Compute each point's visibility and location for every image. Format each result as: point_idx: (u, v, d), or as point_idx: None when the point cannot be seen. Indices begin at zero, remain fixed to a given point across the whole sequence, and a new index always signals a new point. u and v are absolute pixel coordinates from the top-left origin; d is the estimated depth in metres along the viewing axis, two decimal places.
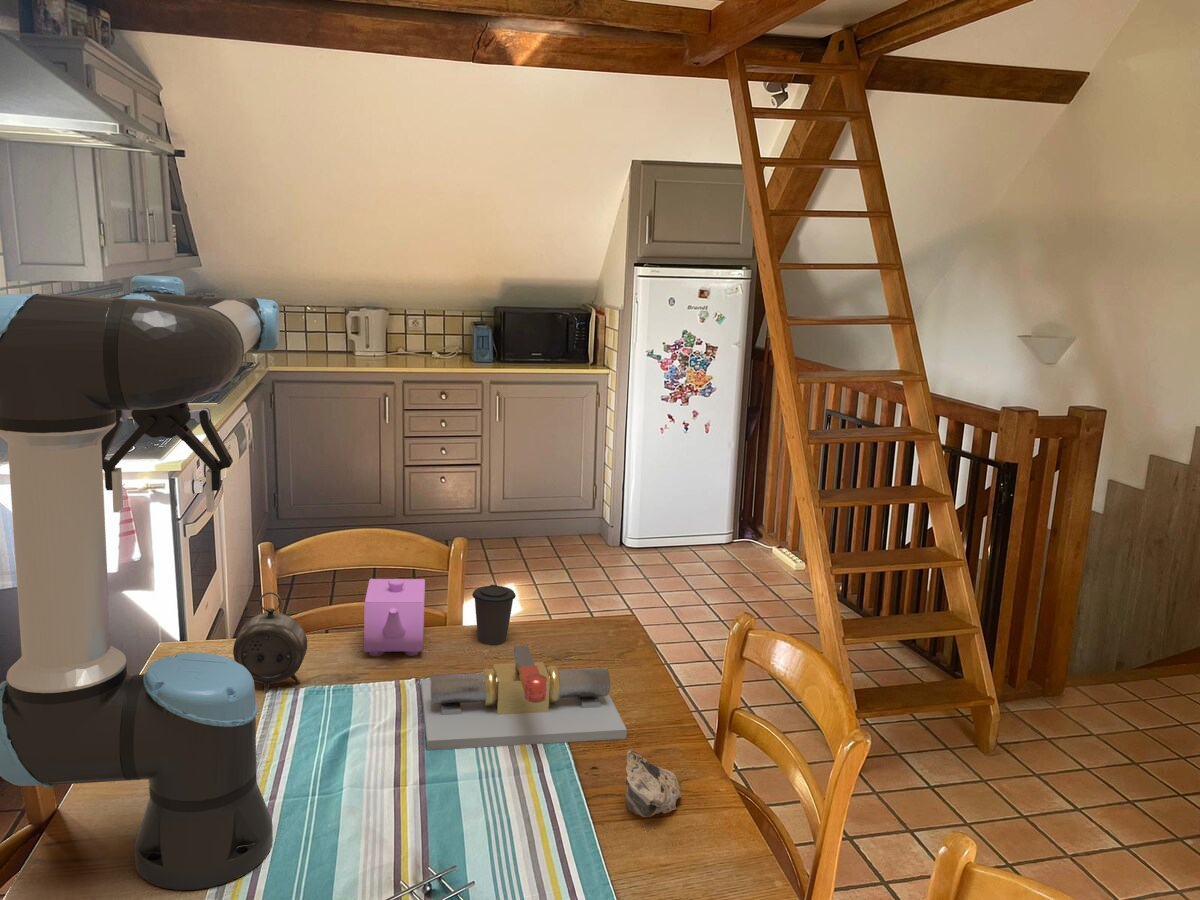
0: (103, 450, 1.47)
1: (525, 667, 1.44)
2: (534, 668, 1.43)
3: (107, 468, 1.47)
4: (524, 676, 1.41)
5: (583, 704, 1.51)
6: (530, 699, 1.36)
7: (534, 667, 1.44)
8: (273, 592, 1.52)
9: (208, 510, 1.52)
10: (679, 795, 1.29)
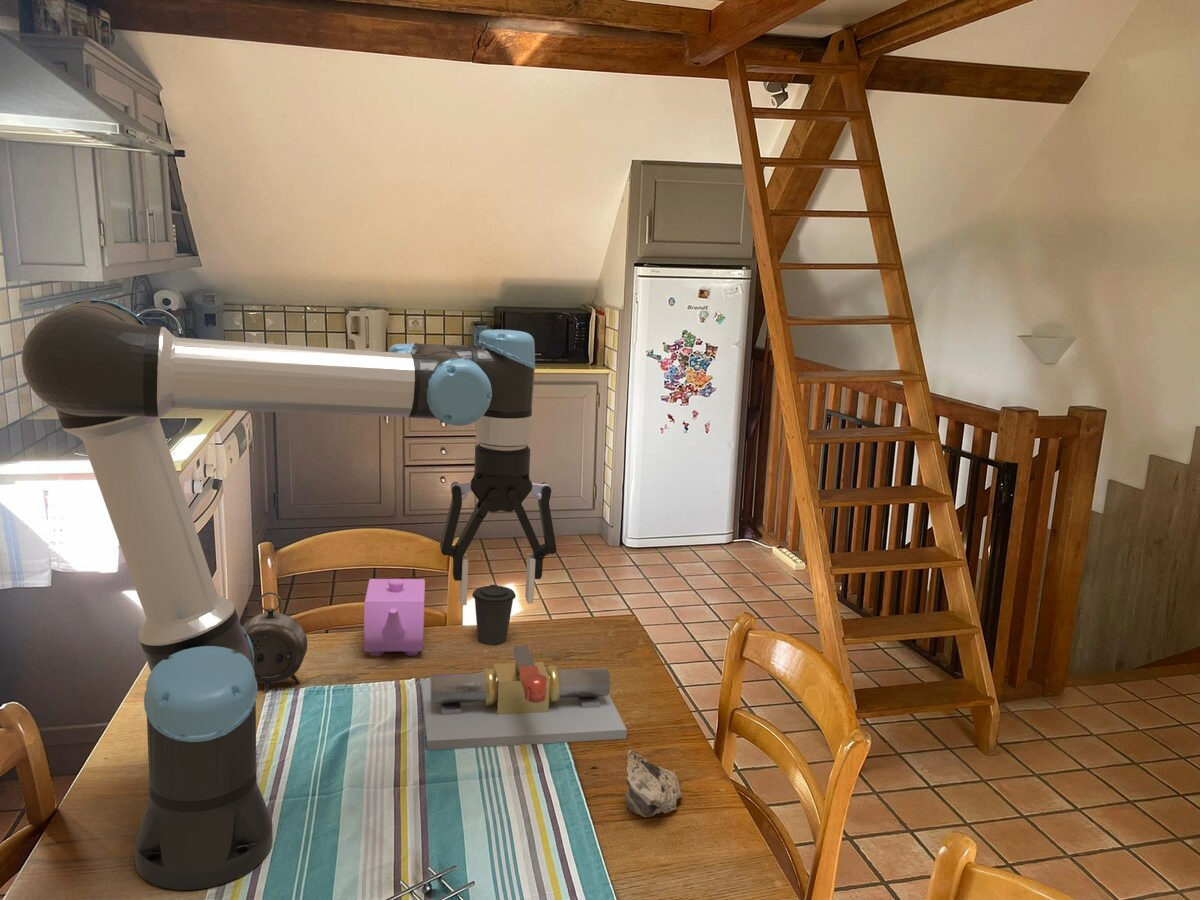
0: (451, 535, 1.30)
1: (525, 667, 1.44)
2: (534, 668, 1.43)
3: (458, 556, 1.31)
4: (524, 676, 1.41)
5: (583, 704, 1.51)
6: (530, 699, 1.36)
7: (534, 667, 1.44)
8: (273, 592, 1.52)
9: (530, 601, 1.35)
10: (679, 795, 1.29)
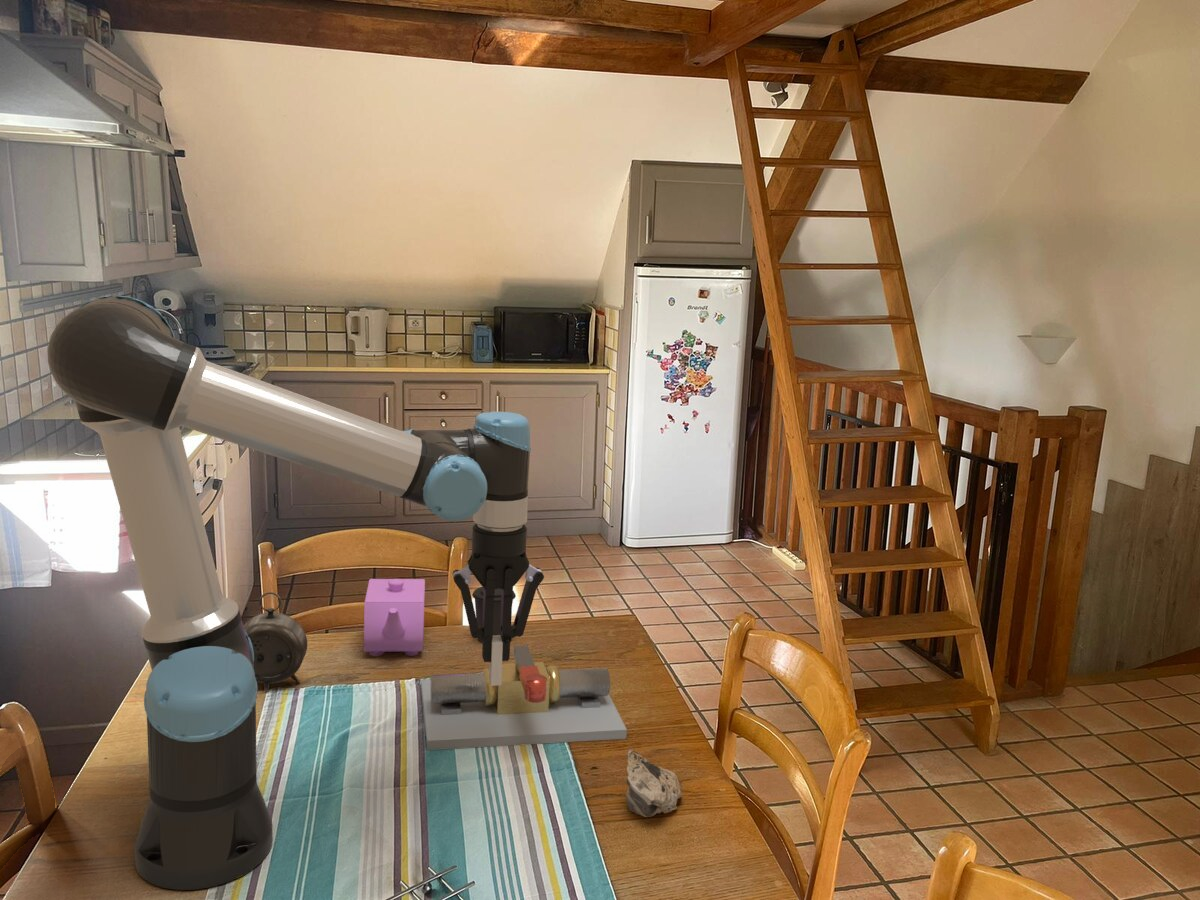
0: (473, 618, 1.33)
1: (525, 667, 1.44)
2: (534, 668, 1.43)
3: (489, 639, 1.35)
4: (524, 676, 1.41)
5: (583, 704, 1.51)
6: (530, 699, 1.36)
7: (534, 667, 1.44)
8: (273, 592, 1.52)
9: (498, 683, 1.36)
10: (680, 795, 1.29)
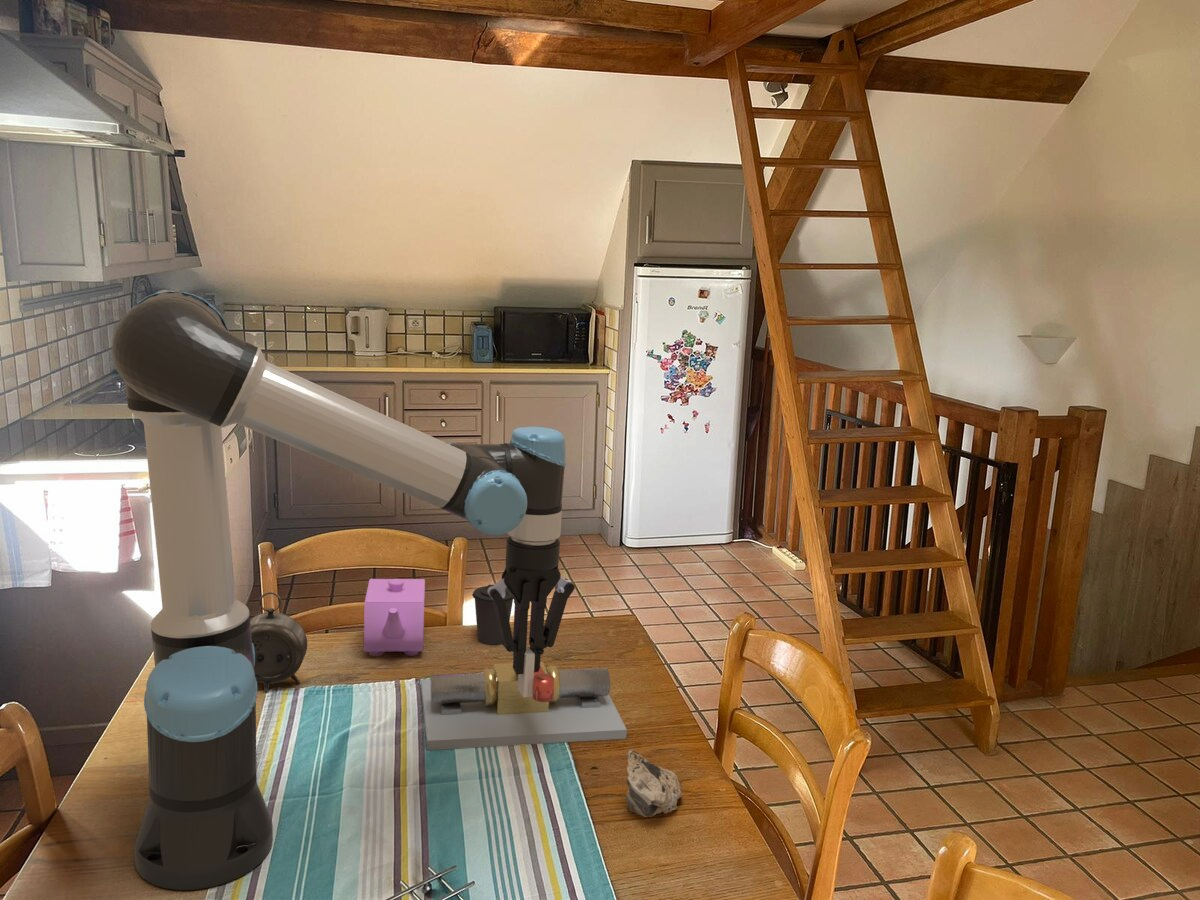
0: (509, 632, 1.35)
1: None
2: None
3: (522, 652, 1.36)
4: None
5: (583, 704, 1.51)
6: (539, 699, 1.37)
7: None
8: (273, 592, 1.52)
9: (529, 694, 1.38)
10: (680, 795, 1.29)
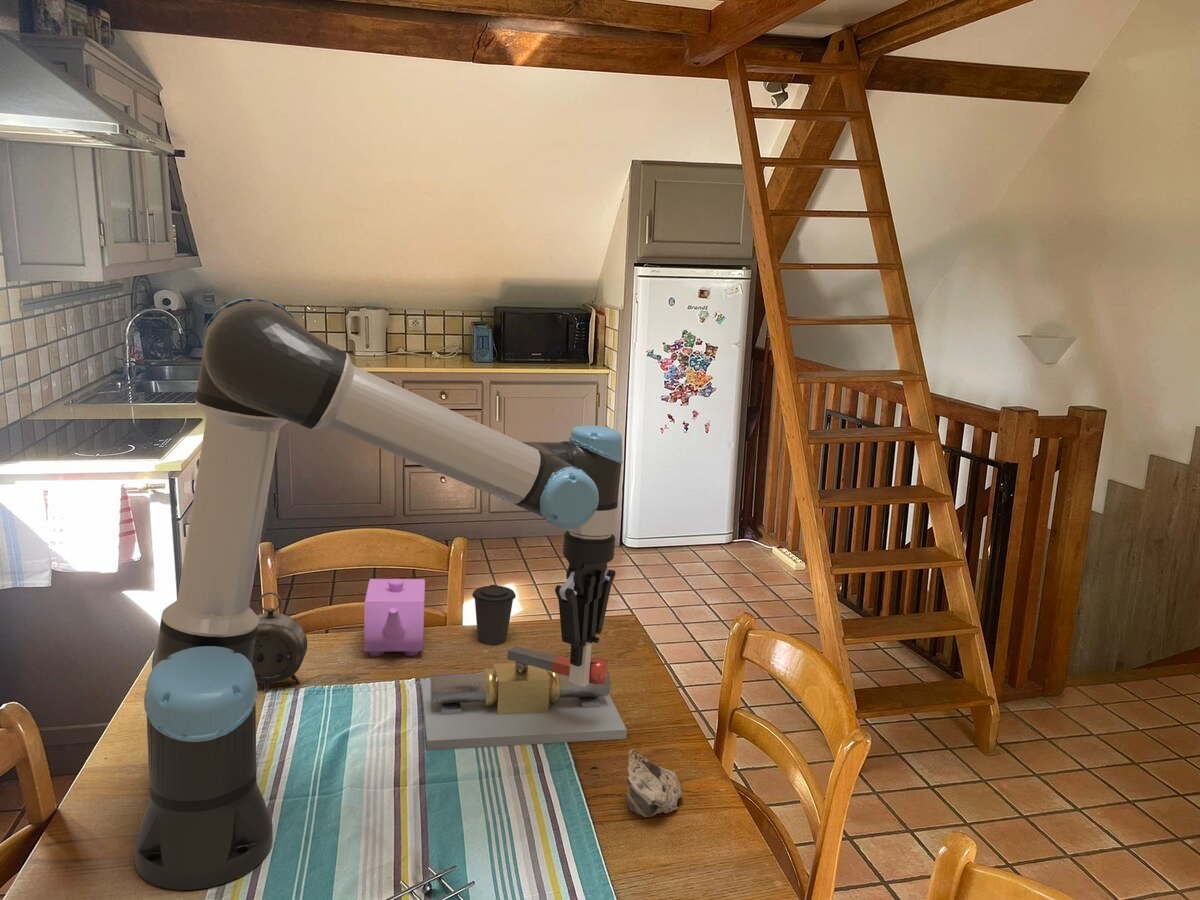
0: (577, 627, 1.38)
1: (557, 660, 1.47)
2: (563, 658, 1.48)
3: (585, 643, 1.41)
4: None
5: (583, 704, 1.51)
6: (601, 681, 1.44)
7: (562, 657, 1.48)
8: (273, 592, 1.52)
9: (587, 683, 1.43)
10: (680, 795, 1.29)
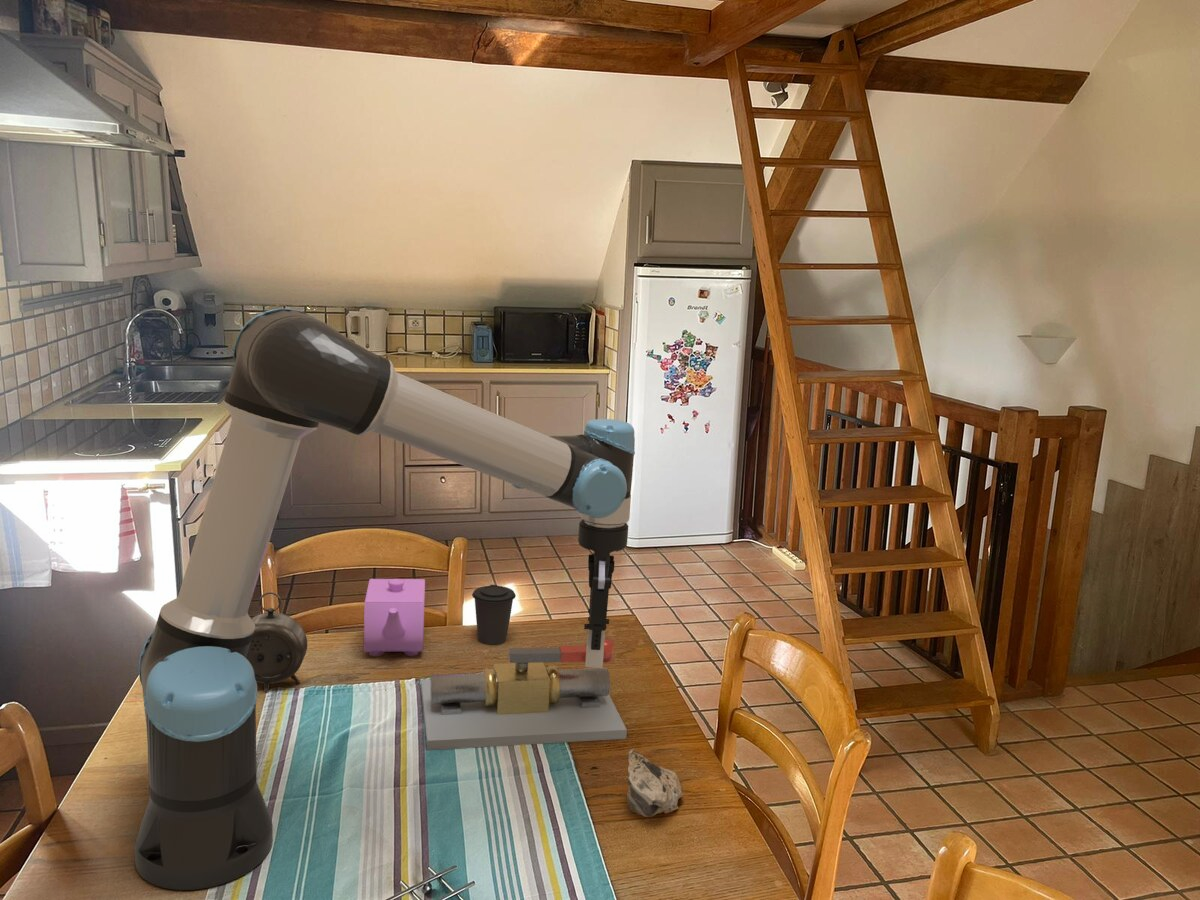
0: None
1: (563, 650, 1.51)
2: (565, 647, 1.52)
3: None
4: (583, 651, 1.51)
5: (583, 704, 1.51)
6: (611, 658, 1.52)
7: (563, 646, 1.52)
8: (273, 592, 1.52)
9: None
10: (681, 795, 1.29)
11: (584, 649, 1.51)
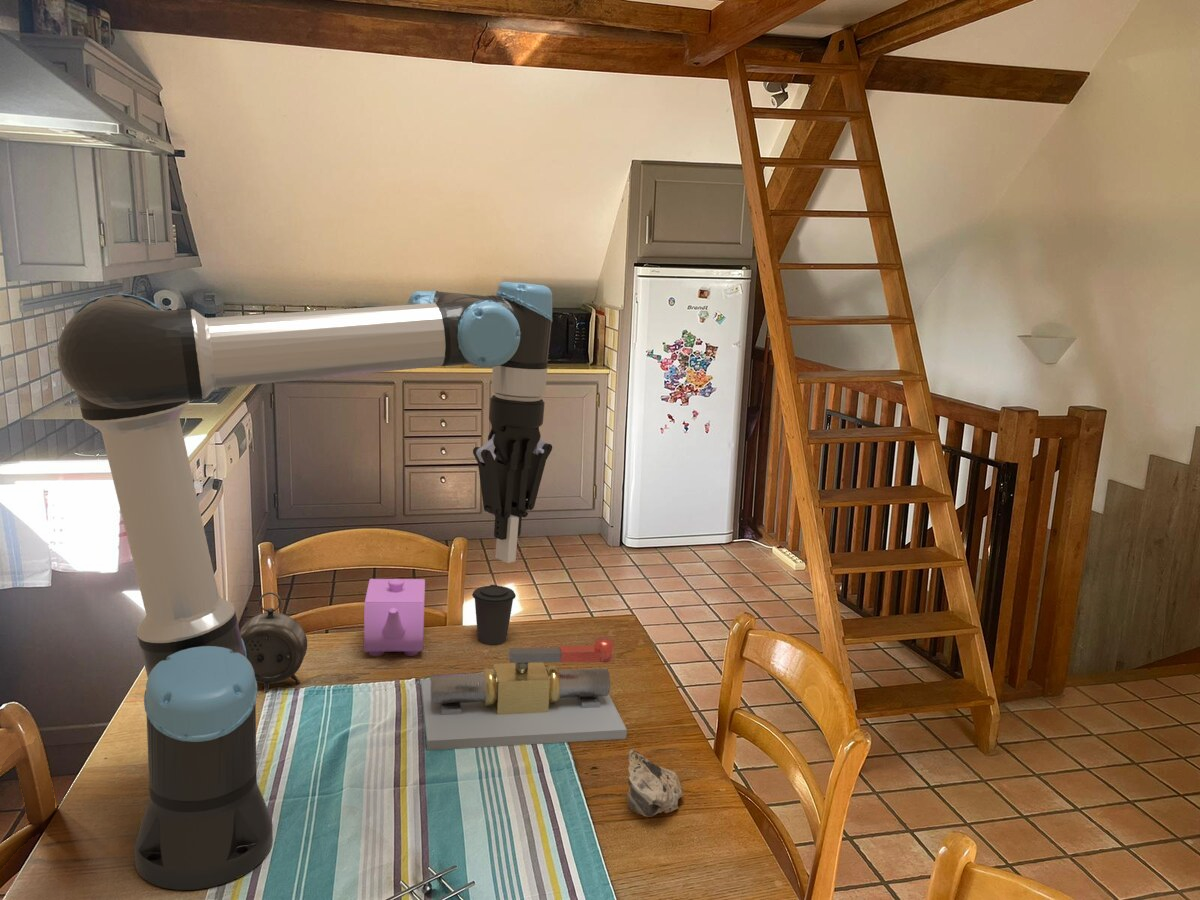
0: (497, 495, 1.31)
1: (563, 650, 1.51)
2: (565, 647, 1.52)
3: (508, 515, 1.33)
4: (583, 651, 1.51)
5: (583, 704, 1.51)
6: (611, 658, 1.52)
7: (563, 646, 1.52)
8: (273, 592, 1.52)
9: (513, 559, 1.36)
10: (681, 795, 1.29)
11: (584, 649, 1.51)
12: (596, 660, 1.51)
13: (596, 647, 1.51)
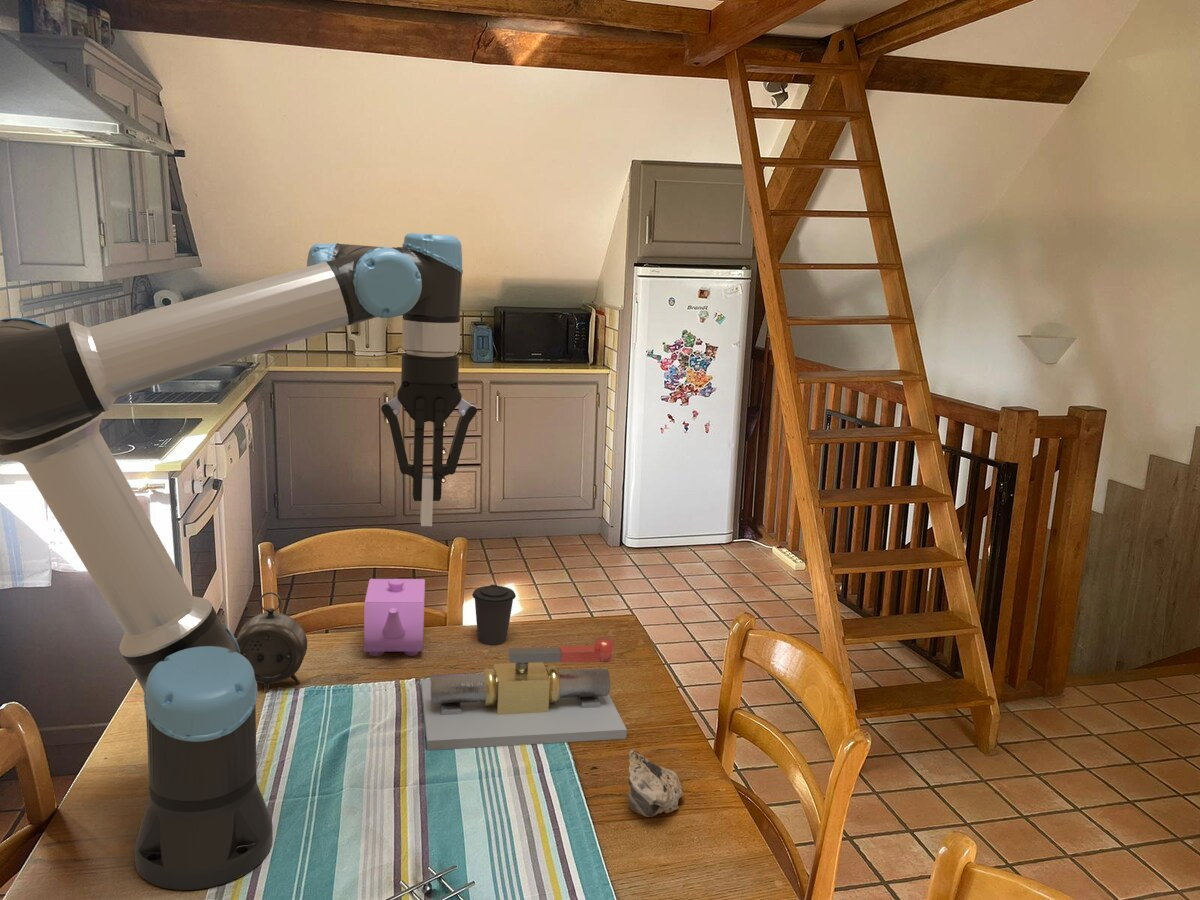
0: (402, 452, 1.28)
1: (563, 650, 1.51)
2: (565, 647, 1.52)
3: (418, 475, 1.29)
4: (583, 651, 1.51)
5: (583, 704, 1.51)
6: (611, 658, 1.52)
7: (563, 646, 1.52)
8: (273, 592, 1.52)
9: (428, 524, 1.30)
10: (681, 794, 1.29)
11: (584, 649, 1.51)
12: (596, 660, 1.51)
13: (596, 647, 1.51)
